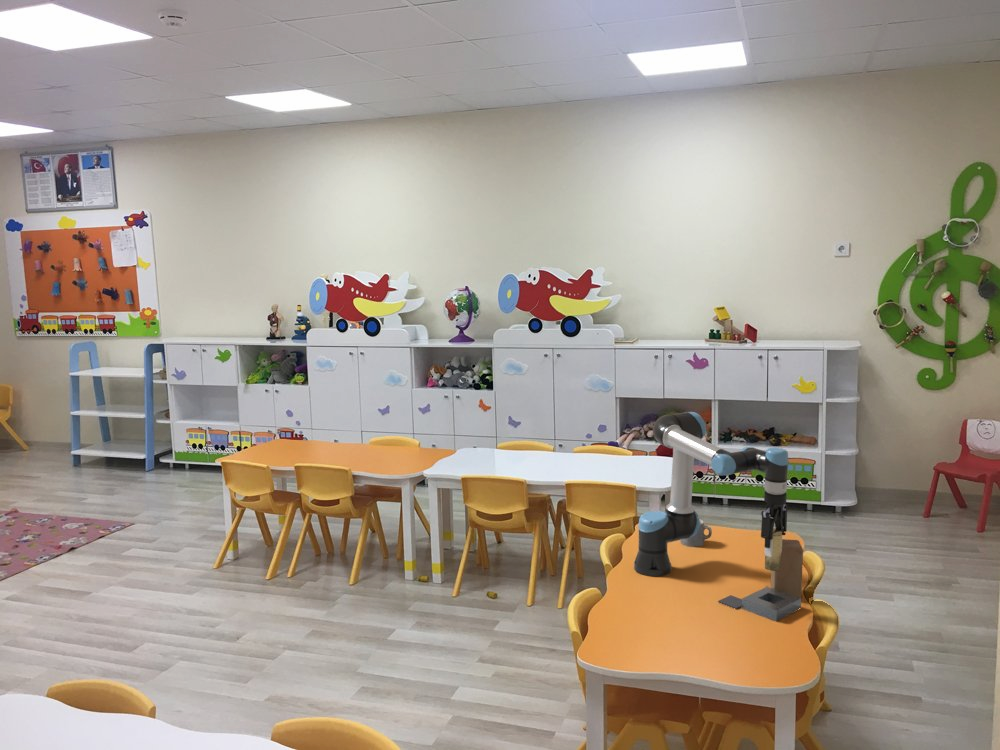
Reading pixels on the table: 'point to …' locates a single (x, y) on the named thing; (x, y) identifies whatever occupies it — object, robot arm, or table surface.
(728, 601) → the pad
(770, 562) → the brass cylinder
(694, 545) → the coffee mug
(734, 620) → the table surface
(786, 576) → the wooden block
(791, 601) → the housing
